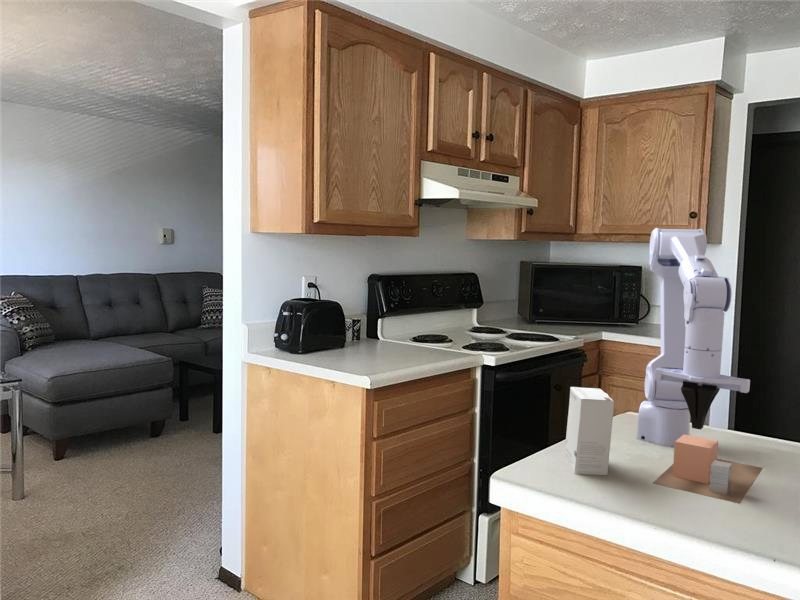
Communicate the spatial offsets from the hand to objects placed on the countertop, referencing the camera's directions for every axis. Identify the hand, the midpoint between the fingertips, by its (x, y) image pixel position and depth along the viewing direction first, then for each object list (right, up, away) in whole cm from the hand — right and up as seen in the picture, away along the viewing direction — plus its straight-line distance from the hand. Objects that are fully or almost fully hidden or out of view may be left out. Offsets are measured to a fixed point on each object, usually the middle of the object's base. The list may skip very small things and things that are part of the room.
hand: (697, 427), depth 113 cm
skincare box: (-18, -9, +4) cm, 21 cm away
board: (+3, -10, +1) cm, 10 cm away
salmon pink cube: (0, -8, +1) cm, 8 cm away
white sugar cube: (+1, -9, -6) cm, 11 cm away
